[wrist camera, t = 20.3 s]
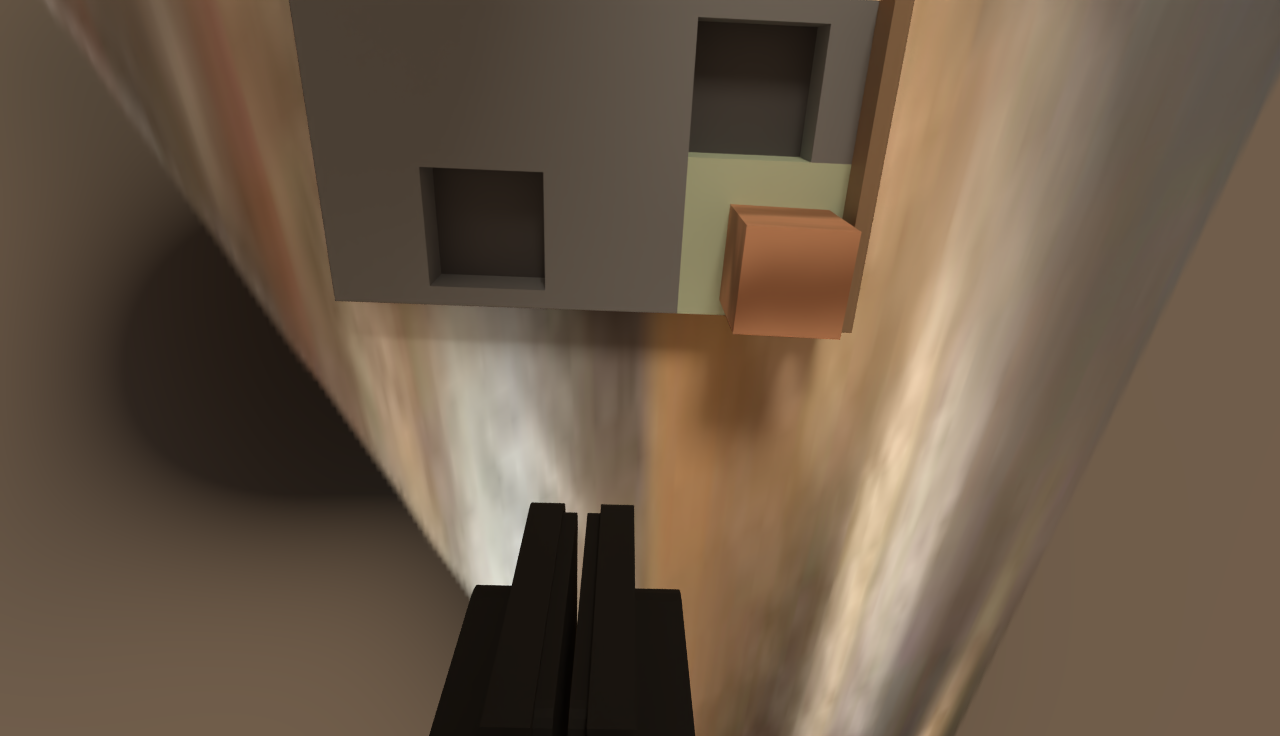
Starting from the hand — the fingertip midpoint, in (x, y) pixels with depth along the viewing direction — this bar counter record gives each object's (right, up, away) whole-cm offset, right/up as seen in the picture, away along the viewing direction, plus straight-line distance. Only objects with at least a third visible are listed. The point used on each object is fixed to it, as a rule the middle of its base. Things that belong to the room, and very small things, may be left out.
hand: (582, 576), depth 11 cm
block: (+8, +9, +23) cm, 26 cm away
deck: (-2, +14, +23) cm, 27 cm away
